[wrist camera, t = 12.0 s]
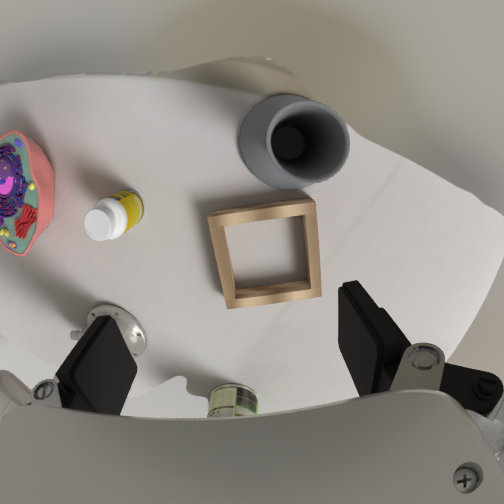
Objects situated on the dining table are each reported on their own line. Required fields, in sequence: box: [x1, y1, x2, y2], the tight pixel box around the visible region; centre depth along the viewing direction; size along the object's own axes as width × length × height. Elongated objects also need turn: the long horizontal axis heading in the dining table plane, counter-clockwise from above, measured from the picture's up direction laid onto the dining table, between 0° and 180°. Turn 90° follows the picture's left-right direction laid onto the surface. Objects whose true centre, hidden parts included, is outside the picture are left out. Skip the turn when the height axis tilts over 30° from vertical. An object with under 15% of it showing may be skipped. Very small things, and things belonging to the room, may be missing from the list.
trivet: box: [240, 95, 314, 190], centre depth 34 cm, size 13×13×1 cm
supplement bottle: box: [84, 190, 145, 241], centre depth 33 cm, size 5×5×10 cm
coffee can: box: [207, 384, 258, 418], centre depth 46 cm, size 10×10×14 cm
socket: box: [207, 198, 322, 309], centre depth 39 cm, size 14×14×3 cm
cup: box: [266, 100, 350, 184], centre depth 27 cm, size 7×7×15 cm
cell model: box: [0, 130, 55, 256], centre depth 31 cm, size 17×20×11 cm
